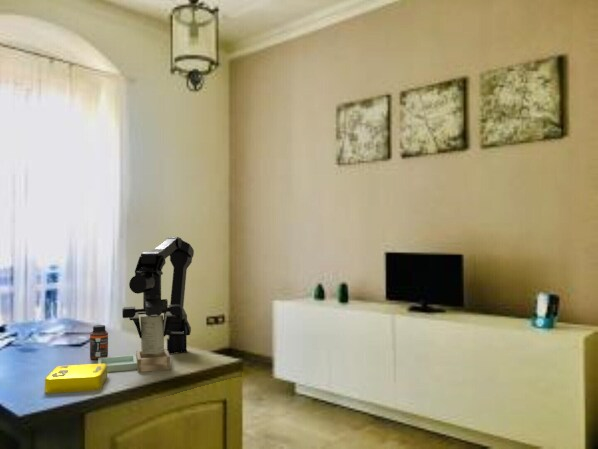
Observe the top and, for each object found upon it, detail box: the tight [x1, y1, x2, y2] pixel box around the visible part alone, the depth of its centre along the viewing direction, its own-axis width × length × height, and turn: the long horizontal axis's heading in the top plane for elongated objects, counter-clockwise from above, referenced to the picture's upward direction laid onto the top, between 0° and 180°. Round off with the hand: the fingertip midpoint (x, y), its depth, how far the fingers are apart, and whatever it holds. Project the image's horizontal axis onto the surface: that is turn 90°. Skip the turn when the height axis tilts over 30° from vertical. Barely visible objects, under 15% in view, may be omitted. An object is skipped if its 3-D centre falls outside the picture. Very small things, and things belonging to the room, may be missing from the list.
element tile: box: [44, 363, 108, 394], centre depth 155 cm, size 15×15×5 cm
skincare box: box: [140, 314, 165, 354], centre depth 175 cm, size 6×4×12 cm
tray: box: [97, 354, 137, 373], centre depth 175 cm, size 12×12×2 cm
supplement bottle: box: [89, 324, 109, 361], centre depth 186 cm, size 6×6×11 cm
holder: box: [135, 348, 171, 373], centre depth 175 cm, size 10×12×4 cm
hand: (152, 337), depth 175 cm, fingers closed on skincare box, 7 cm apart
